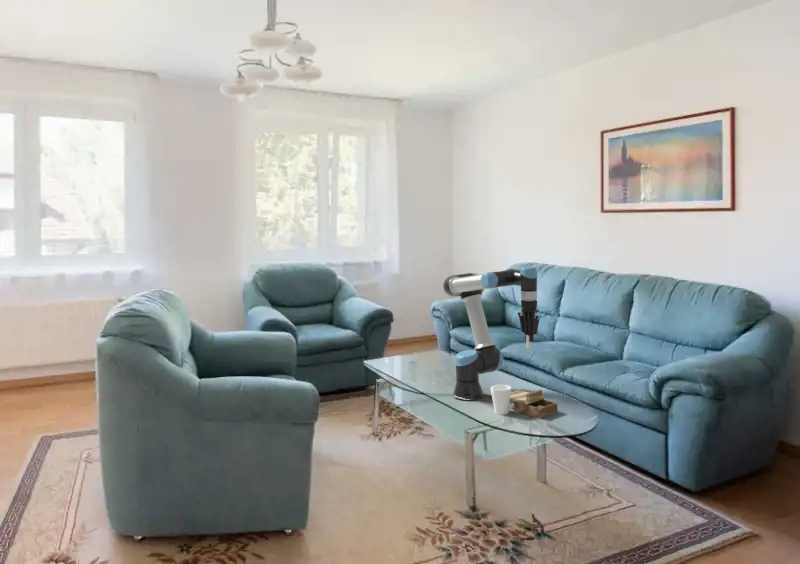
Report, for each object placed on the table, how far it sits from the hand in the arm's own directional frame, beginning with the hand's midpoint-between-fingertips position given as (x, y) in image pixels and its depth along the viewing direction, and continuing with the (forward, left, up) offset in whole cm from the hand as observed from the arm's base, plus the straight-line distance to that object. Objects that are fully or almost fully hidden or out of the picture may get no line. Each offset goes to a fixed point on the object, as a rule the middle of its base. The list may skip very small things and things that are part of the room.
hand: (529, 347), depth 287 cm
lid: (0, -6, -23) cm, 24 cm away
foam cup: (-3, -17, -29) cm, 34 cm away
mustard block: (+12, -6, -28) cm, 31 cm away
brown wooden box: (+8, -6, -29) cm, 31 cm away
